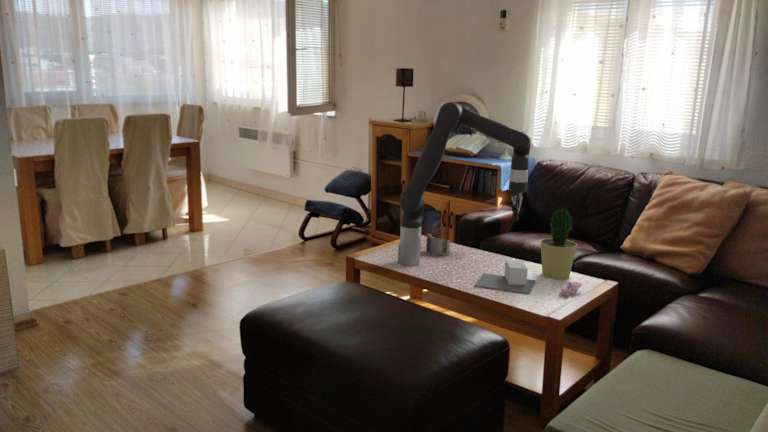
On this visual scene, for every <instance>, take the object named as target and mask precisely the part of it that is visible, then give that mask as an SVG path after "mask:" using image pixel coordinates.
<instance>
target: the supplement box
mask: <svg viewBox="0 0 768 432" xmlns="http://www.w3.org/2000/svg"><path fill="white" fill-rule="evenodd" d="M503 276H505V278H506V280H507V282H508V284H509V285H526V282H527V279H528V268H527V266H526V264H525V262H524V260H522V259H505V260H504V275H503Z"/></svg>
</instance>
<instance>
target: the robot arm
mask: <svg viewBox="0 0 768 432" xmlns="http://www.w3.org/2000/svg"><path fill="white" fill-rule="evenodd" d="M456 124H457V125H462V126H465V127H468V128H471V129H473V130H475V131H477V132H479V133H480V134H482V135H484V136H486V137H488V138H491V139H494V140H495V141H498V142H501V143H504V144H506V145H508V146H510V147H512V149H513V151H512V152H513V153H512V156H511V160H510V161H511V162H510V172H509V180H508V191H510V192H513V194H512V195H511V201H510V204H511V212H512V218H511V219H512V221H514V222H518V220H519V215H520V214H519V212H520V211H521V206H522V201H523V195H522V193H527V191H528V184H529V183H528V181H529V163H530V162H529V161H530V158H529V155H530V151H531V150H530V149H531V144H532V139H531V138H532V137H531V135H530V134H529V133H528V132H526V131H520V130H516V129H514V128H511V127H510V126H508V125H506V124H505V123H502V122H499V121H496V120H493V119H491V118H488V117H485V116H482V115H480V114H477V113H475V112H473V111H471V110H469V109H467V108H466V107H464V106H462V105H461V104H459V103H458V102H456V101H448V102H445V103H444V104H442V105H441V107H440V108H439V110H438V114H437V116H436V120H435V124H434V126H433V129H432V131H431V134H430V135H429V136H428V138H427V140H426V142H425V145H424V147H423V148H422V151H421V153H420V155H419V158H418V161H417V162H416V165H415V167H414V170H413V173H412V177H411V179H409V180H410V181H409V182H408V184H407V186H406V188H405V190H404V192H403V193H402V195H401V197H400V199H399V206H400V208H401V210H402V211H403V214H402V217H401V220H400V234H399V235H400V238H399V242H398V248H397V249H398V252H397V264H399V265H403V266H407V267H408V266H409V267H415V266H419V265H420V263H421V248H422V247H421V246H422V245H421V242H422V225H423V224H422V223H423V220H424V211H425V198H424V192H425V189H426V188H427V186H428V184H429V182H430V181H431V180H432V178H433V177H434V175H435V174H436V173H437V170H438V169H439V167H440V165H441V162H442V161H443V158H444V155H445V152H446V147H447V144H448V139H449V137H450V135H451V133H452V131H453V129H454V127H455V126H456Z"/></svg>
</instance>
